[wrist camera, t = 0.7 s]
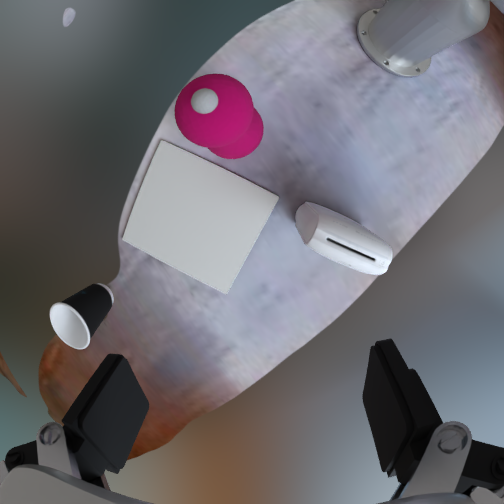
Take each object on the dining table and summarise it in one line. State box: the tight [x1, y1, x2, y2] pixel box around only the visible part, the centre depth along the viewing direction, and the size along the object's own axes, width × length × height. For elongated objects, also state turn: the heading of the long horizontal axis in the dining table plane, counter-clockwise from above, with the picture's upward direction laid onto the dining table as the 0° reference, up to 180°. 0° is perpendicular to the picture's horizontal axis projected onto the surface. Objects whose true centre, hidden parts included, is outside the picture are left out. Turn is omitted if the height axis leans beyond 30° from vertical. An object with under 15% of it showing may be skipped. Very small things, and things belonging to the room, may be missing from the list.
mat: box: [122, 140, 279, 295], centre depth 37 cm, size 16×18×1 cm
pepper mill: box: [175, 74, 263, 159], centre depth 24 cm, size 7×7×20 cm
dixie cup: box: [50, 283, 114, 349], centre depth 37 cm, size 8×8×11 cm
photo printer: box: [295, 202, 393, 275], centre depth 31 cm, size 10×4×12 cm, turn 69°
